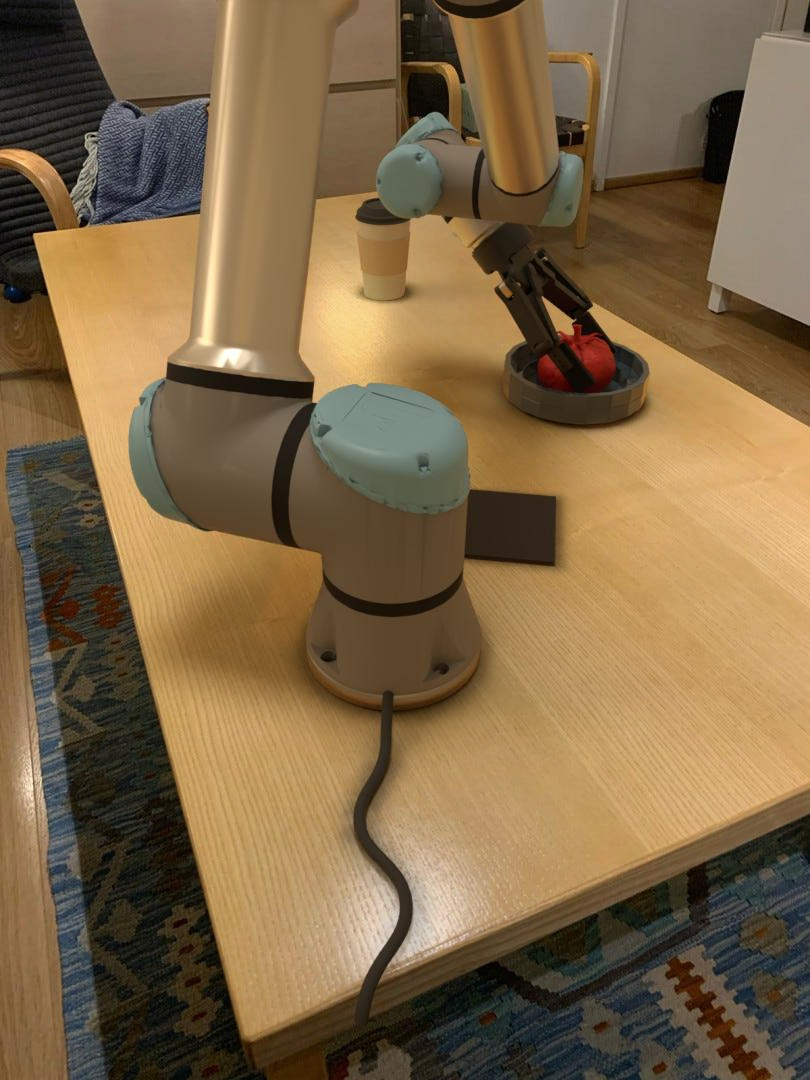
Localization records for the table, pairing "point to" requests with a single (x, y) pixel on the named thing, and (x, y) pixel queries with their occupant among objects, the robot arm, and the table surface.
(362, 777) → the table surface
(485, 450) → the table surface
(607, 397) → the bowl
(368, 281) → the coffee cup
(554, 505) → the mat
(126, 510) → the table surface
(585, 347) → the red tomato
